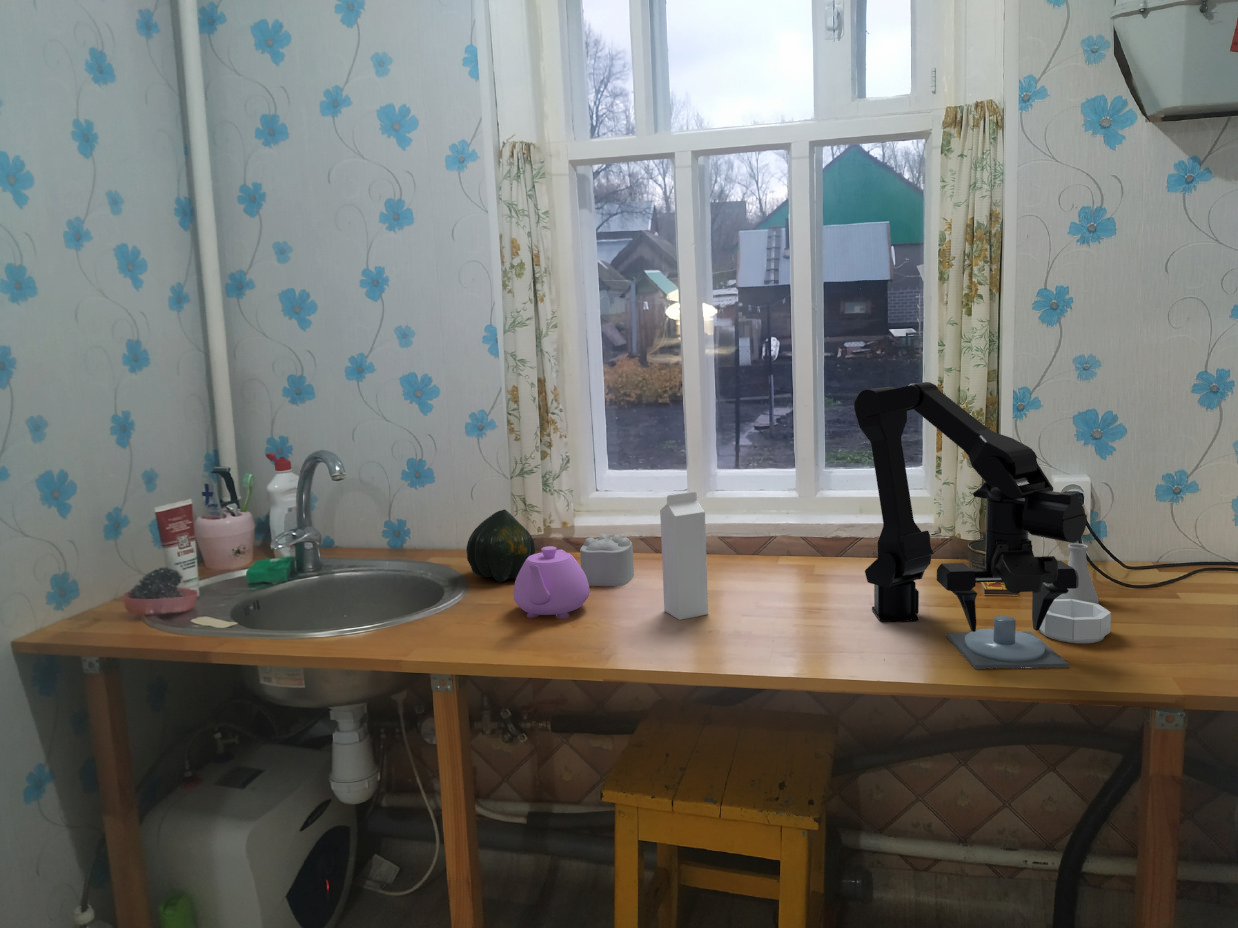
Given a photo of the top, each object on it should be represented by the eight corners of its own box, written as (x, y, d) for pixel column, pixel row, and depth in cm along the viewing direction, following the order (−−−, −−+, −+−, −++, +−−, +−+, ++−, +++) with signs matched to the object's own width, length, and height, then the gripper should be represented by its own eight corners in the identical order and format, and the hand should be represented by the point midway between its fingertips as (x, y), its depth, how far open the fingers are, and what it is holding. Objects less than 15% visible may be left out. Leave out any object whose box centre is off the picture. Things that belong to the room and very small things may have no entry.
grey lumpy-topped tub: (577, 585, 170) (575, 544, 169) (593, 568, 182) (590, 529, 181) (626, 586, 168) (624, 545, 166) (639, 568, 180) (637, 529, 179)
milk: (708, 614, 149) (705, 494, 145) (678, 620, 146) (674, 498, 143) (692, 605, 154) (688, 488, 151) (663, 610, 152) (659, 492, 148)
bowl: (1053, 644, 127) (1054, 620, 127) (1026, 623, 137) (1027, 599, 136) (1119, 643, 126) (1120, 618, 126) (1088, 621, 136) (1089, 598, 135)
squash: (468, 567, 167) (509, 505, 171) (445, 555, 180) (483, 498, 184) (520, 602, 173) (559, 542, 177) (494, 588, 186) (531, 532, 190)
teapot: (573, 632, 143) (569, 564, 141) (495, 629, 146) (490, 563, 144) (601, 596, 162) (598, 535, 160) (532, 594, 165) (528, 535, 163)
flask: (1105, 607, 142) (1108, 551, 141) (1060, 606, 144) (1062, 550, 142) (1091, 594, 149) (1093, 540, 148) (1047, 593, 151) (1049, 540, 149)
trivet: (975, 669, 120) (975, 665, 120) (946, 636, 133) (946, 633, 132) (1068, 667, 119) (1068, 663, 119) (1030, 634, 132) (1030, 631, 131)
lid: (979, 662, 121) (980, 632, 120) (954, 635, 131) (955, 607, 131) (1057, 661, 120) (1059, 631, 119) (1026, 633, 131) (1027, 606, 130)
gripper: (960, 545, 116) (958, 651, 118) (1099, 541, 114) (1095, 649, 117) (936, 527, 127) (935, 624, 129) (1062, 523, 125) (1059, 622, 128)
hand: (1004, 630), depth 125 cm, fingers open, 9 cm apart
